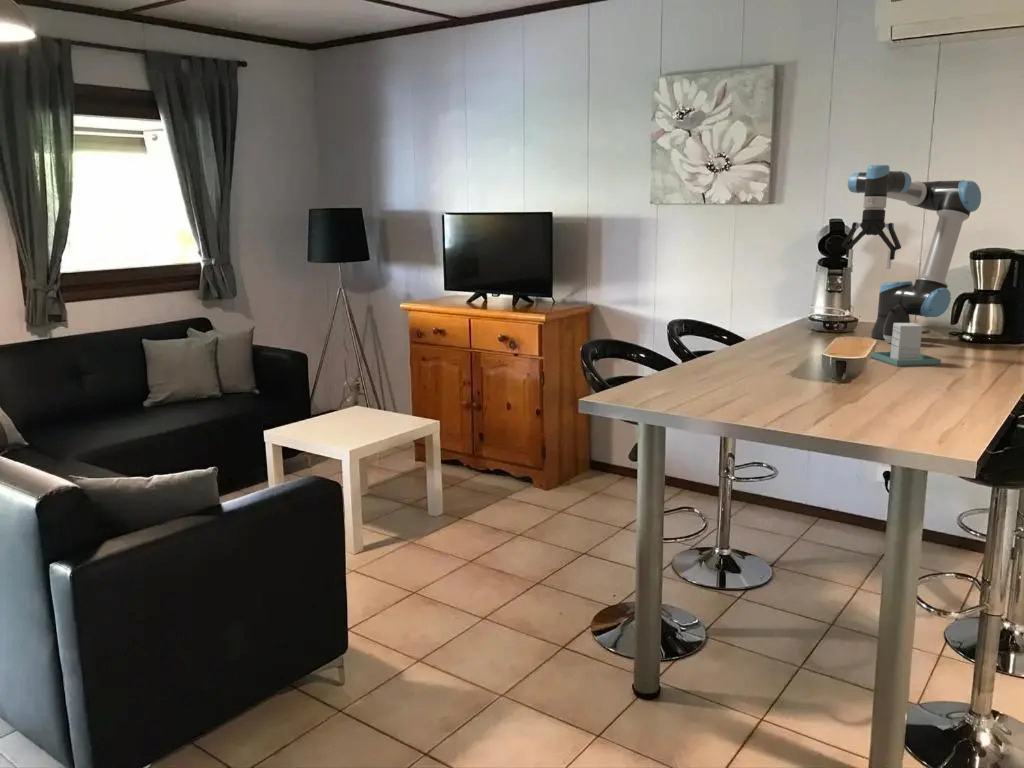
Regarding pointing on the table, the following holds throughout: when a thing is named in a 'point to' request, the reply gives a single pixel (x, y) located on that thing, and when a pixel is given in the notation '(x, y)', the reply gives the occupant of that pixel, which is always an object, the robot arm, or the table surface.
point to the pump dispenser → (894, 321)
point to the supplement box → (906, 341)
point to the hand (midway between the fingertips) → (868, 268)
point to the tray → (922, 360)
